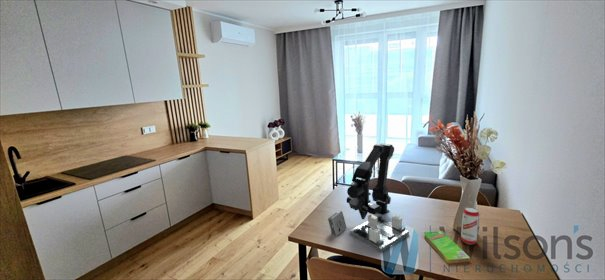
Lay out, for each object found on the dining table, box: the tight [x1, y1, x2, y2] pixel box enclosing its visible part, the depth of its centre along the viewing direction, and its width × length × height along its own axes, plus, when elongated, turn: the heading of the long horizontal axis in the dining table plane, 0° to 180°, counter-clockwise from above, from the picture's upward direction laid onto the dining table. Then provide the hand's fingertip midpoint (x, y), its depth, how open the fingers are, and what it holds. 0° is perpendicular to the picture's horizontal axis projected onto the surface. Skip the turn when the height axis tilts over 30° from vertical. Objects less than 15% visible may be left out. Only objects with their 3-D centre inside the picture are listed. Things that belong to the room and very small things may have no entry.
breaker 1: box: [367, 213, 379, 228], centre depth 136 cm, size 3×4×6 cm, turn 36°
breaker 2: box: [369, 227, 380, 243], centre depth 124 cm, size 3×4×6 cm, turn 36°
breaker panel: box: [349, 216, 410, 253], centre depth 133 cm, size 21×19×3 cm
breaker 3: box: [391, 214, 403, 230], centre depth 134 cm, size 3×4×6 cm, turn 36°
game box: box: [423, 230, 471, 264], centre depth 121 cm, size 3×10×20 cm
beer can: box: [460, 206, 480, 245], centre depth 123 cm, size 6×6×16 cm
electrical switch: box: [327, 210, 347, 236], centre depth 138 cm, size 9×5×9 cm, turn 141°
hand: (363, 219), depth 141 cm, fingers closed
